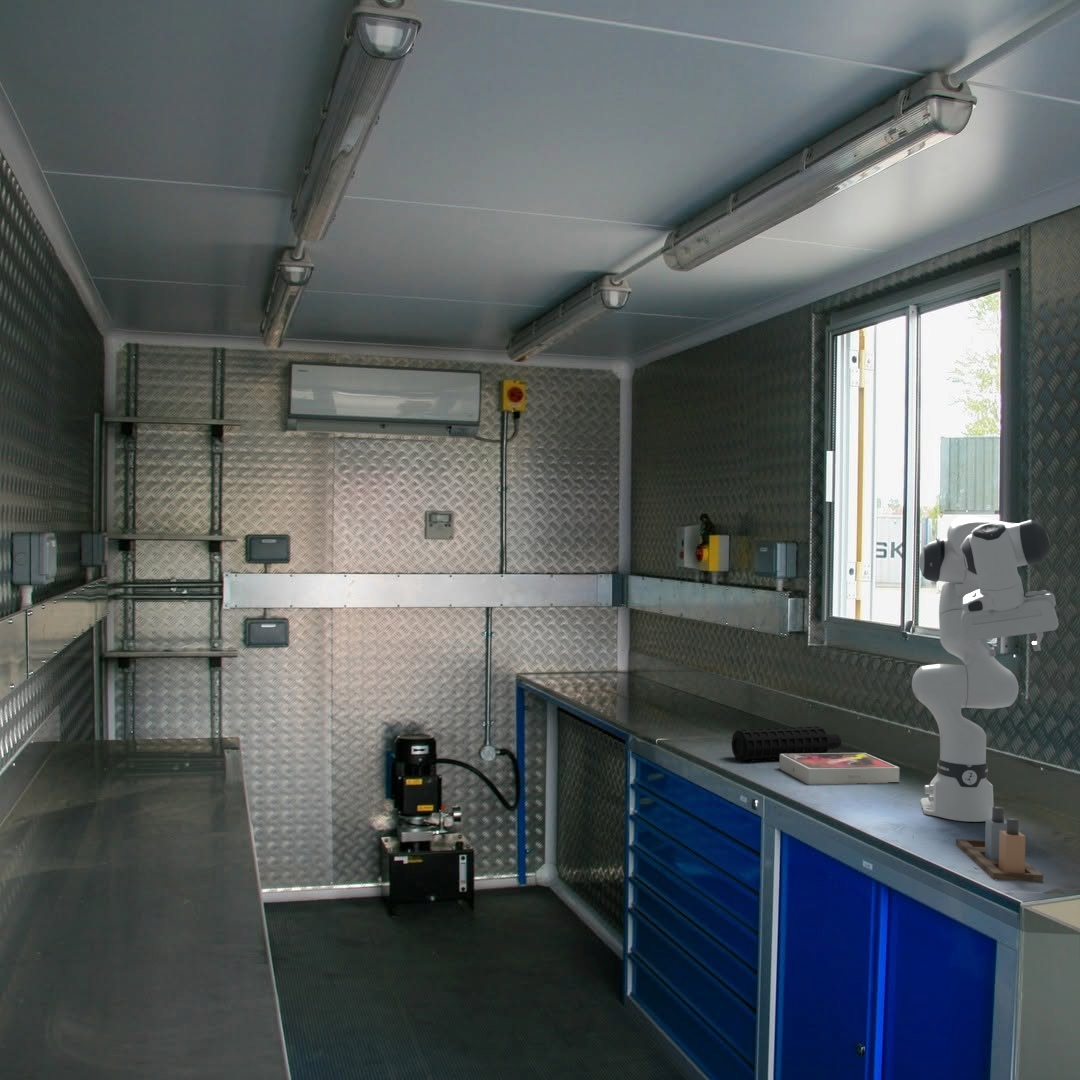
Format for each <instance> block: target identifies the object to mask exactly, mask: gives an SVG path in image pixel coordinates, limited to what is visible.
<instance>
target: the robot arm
mask: <svg viewBox="0 0 1080 1080" xmlns="http://www.w3.org/2000/svg"><path fill="white" fill-rule="evenodd" d="M946 534H947V535H946V538H942V539H940V536H939V537H936V538H935V540H934V541H931V542H928V543H927V544H926V545H924V547H923V546H922V550H921V552H920V554H919V558H918V567H919V569H920V572H921V575H922V577H923V578H924V579H925V580H927V581H931V582H934V583H937V582H944V583H943V585H942V586H941V590H940V596H939V605H938V622H939V641H940V645H941V646H942V648H943V649H944V650H945V651H947V653H949V654H951V655H953V656H954V657H957V658H958V659H959V660H961V661H962V662H963V664H950V663H935V664H933V663H932V664H926V665H922V666H920V667H918V668H917V670H915V672H914V674H913V675H912V679H911V687H912V691H913V694H914V697H915V698H916V699H917V700H918V701H919V702H920V703H922V705H923V706H925V707H926V708H927V709H928V710H929V712H930V713H931V715H932V716H933V718H934V719H935V721H936V723H937V727H938V730H939V731H938V733H939V743H940V744H939V751H940V752H939V756H940V757H939V758H938V761H937V765H936V766H937V767H936V768H937V769H936V771H937V773H936V775H935V776H933V778H932V780H931V781H930V783H929V784H925V785H924V793H925V795H928V797H922V798H920V804H921V808H923V809H922V812H923V814H925V815H927V816H935V817H939V818H943V819H947V820H951V821H957V822H968V823H969V822H971V823H972V822H974V823H977V822H986V819H992V807H994V786H993V784H992V783H991V782H990V781H989V780H988V779H987V777H988V771H989V767H988V763H987V761H986V760H987V734H986V732H985V730H984V729H983V728H982V727H981V726H980V725H979V724H977V723H975V722H973V721H972V720H969V719H968V718H966V717H964V716H963V714H962V709H964V708H968V709H969V708H971V709H987V710H992V709H1001V708H1009V707H1011V706H1012V705H1013V704H1014V703H1015V701H1016V700H1017V698H1018V695H1019V689H1020V688H1019V682H1018V679H1017V677H1016V675H1015V674H1014V673H1013V672H1012V671H1011V670H1010V669H1008V668H1006V667H1005V666H1004V665H1003V664H1002V663H1000V661H998V660H997V659H996V658H995V657H997V653H996V649H995V648H996V647H995V646H991V645H990V644H989V643H988V640H990V639H999V638H1005V637H1013V636H1021V635H1027V634H1029V635H1030V634H1035V635H1036V637H1037V638H1036V640H1035V641H1034V640H1033V641H1032V642H1031V644H1032V649H1033V651H1034V652H1037V651H1042V649H1041V642H1042V640H1043V638H1044V632H1050V631H1051V632H1053V631H1056V630H1057V629H1058V627H1059V625H1060V623H1059V619H1058V615H1057V612H1056V609H1055V606H1056V605H1057V600H1056V595H1055V594H1054V593H1053V592H1052V591H1049V590H1046V589H1040V590H1035V591H1024V587H1023V581H1022V578H1021V576H1020V574H1019V572H1018V567H1022V566H1023V567H1024V566H1030V565H1031V566H1032V565H1039V564H1042V562H1043V561H1044V560H1046V558H1047V557H1048V556H1049V553H1050V551H1051V543H1050V538H1049V534H1048V533H1047V531H1046V529H1045V527H1044V526H1043V525H1042V524H1040V523H1039V522H1036V521H1034V520H1033V519H1028V520H1026V521H1022V522H1019V523H1018V522H1017V523H1016V522H1009V521H1001V520H995V519H994V520H993V519H987V518H984V517H981V516H978V515H973V514H967V515H961V516H958V517H956V518H955V519H954V520H953V521H951V523H950V525H949V526H948V529H947V533H946Z"/></svg>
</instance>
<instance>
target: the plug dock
mask: <svg viewBox="0 0 1080 1080" xmlns="http://www.w3.org/2000/svg"><path fill="white" fill-rule="evenodd" d="M955 845H956V847H958V848H959V849H960V850H961V851H962V852H963V854H965V855H966V856H968V857H969V859H970V860H972V861H973V862H974V863H975V864H976V865H977V866H978V867H979V868H980V869H982V870H983V871H984V872H985V873H986V874H987V875H988V876H989V877H990V878H991V879H992V880H995V879H997V880H995V881H1019V882H1037V883H1043V882H1044V874H1042V873H1041V872H1040V871H1038V870H1037V869H1036V867H1035V868H1034V867H1033V866H1032V865H1031V864H1030V863H1028V862H1027V860H1025V873H1010V872H1001V871H1000V870H999V860H988V859H987V858H985V839H963V838H962V839H961V838H955Z"/></svg>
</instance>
